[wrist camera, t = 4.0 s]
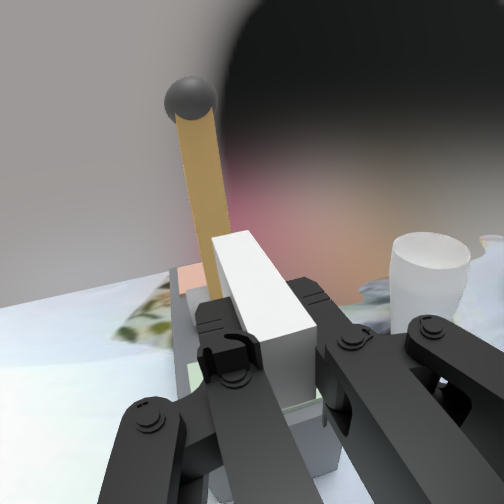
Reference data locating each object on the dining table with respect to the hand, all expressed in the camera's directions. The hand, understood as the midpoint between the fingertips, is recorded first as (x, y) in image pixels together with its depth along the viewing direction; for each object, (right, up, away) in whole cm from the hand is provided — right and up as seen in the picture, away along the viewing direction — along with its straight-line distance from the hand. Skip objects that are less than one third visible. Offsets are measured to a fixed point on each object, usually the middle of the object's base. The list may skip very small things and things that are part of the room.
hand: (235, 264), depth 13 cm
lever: (-1, -5, +13) cm, 14 cm away
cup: (+20, -10, +20) cm, 31 cm away
